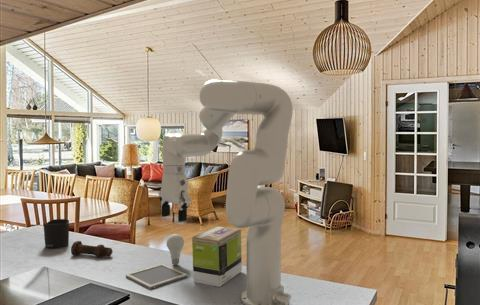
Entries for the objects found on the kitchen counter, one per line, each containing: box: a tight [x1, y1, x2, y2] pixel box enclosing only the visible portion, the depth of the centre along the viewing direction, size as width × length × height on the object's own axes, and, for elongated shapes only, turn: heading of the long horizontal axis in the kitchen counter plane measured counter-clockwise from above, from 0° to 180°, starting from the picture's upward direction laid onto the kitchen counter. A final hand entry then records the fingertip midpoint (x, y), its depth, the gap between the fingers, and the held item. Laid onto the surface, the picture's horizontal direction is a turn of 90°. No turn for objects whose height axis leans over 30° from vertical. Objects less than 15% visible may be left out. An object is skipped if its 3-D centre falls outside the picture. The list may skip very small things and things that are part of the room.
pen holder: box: [43, 218, 70, 250], centre depth 162 cm, size 9×9×10 cm
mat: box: [125, 263, 188, 290], centre depth 129 cm, size 14×14×1 cm
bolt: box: [70, 240, 113, 258], centre depth 150 cm, size 6×5×15 cm
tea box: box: [191, 225, 243, 288], centre depth 128 cm, size 15×10×15 cm, turn 152°
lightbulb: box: [166, 233, 185, 266], centre depth 139 cm, size 6×6×11 cm
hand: (173, 218), depth 139 cm, fingers open, 9 cm apart
